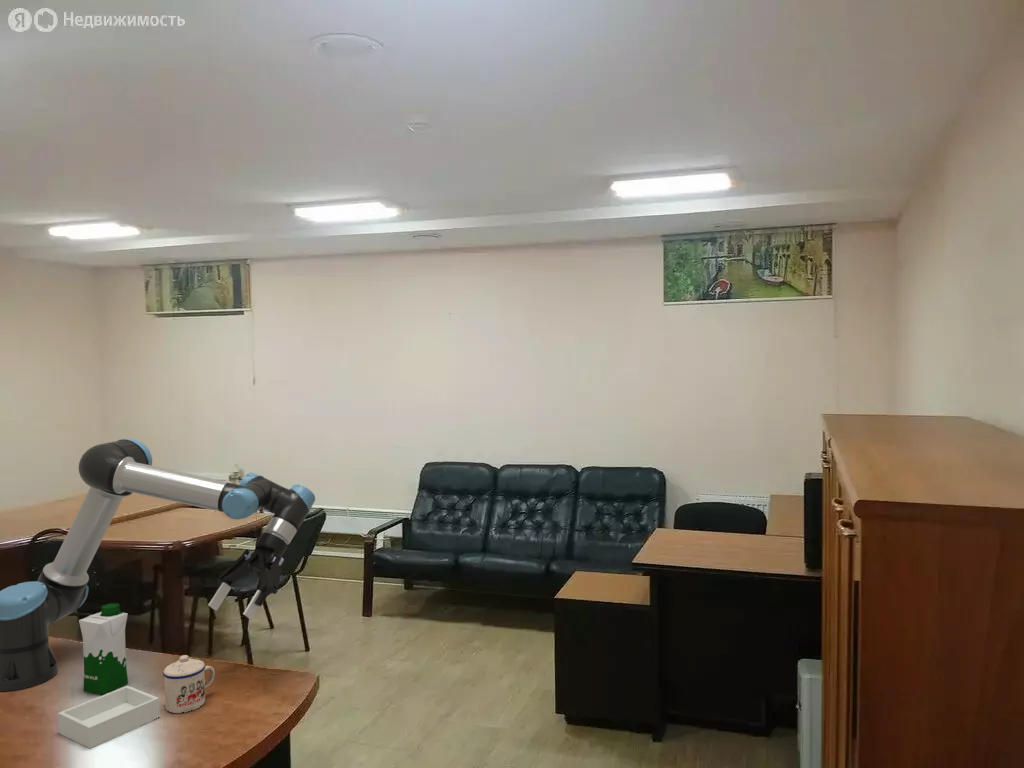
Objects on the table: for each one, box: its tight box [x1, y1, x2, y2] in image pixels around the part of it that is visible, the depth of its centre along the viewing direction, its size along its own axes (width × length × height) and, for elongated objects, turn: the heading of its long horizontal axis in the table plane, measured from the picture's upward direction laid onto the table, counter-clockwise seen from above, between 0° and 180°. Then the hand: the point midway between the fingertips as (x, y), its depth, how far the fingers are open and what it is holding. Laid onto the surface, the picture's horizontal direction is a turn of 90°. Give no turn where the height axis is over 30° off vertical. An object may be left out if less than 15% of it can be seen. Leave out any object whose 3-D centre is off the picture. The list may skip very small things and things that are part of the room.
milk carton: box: [78, 602, 129, 696], centre depth 183 cm, size 9×9×20 cm
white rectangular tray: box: [57, 685, 161, 750], centre depth 164 cm, size 13×16×4 cm
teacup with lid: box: [162, 654, 216, 714], centre depth 175 cm, size 12×9×12 cm
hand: (229, 612), depth 183 cm, fingers open, 13 cm apart
